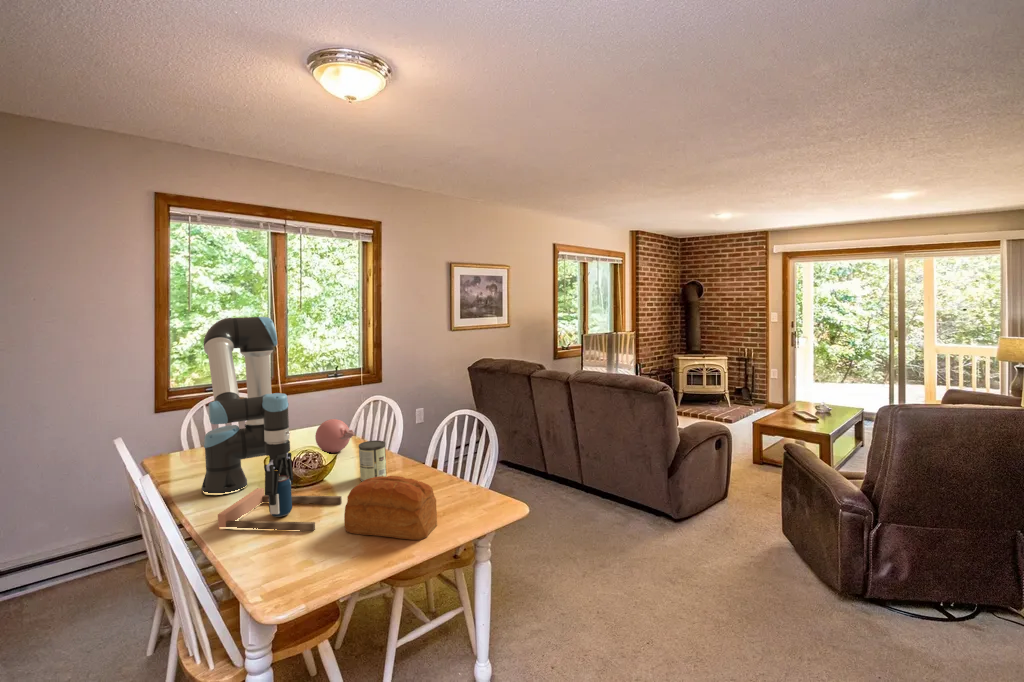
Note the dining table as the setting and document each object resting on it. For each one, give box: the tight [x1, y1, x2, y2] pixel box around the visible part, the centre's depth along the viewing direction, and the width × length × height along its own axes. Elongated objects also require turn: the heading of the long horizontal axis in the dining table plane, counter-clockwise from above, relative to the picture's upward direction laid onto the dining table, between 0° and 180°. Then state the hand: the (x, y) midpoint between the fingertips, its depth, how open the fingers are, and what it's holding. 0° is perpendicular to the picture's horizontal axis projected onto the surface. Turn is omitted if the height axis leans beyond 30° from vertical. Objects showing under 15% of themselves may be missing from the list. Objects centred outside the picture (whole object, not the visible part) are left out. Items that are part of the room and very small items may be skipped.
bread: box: [343, 475, 438, 541], centre depth 163 cm, size 16×27×16 cm, turn 76°
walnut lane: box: [226, 494, 343, 532], centre depth 174 cm, size 28×22×2 cm
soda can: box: [268, 474, 293, 518], centre depth 174 cm, size 7×7×12 cm
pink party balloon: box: [314, 418, 356, 454], centre depth 244 cm, size 15×20×15 cm
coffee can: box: [358, 440, 387, 482], centre depth 208 cm, size 10×10×14 cm
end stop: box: [217, 487, 265, 528], centre depth 175 cm, size 2×22×5 cm, turn 176°
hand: (280, 508), depth 174 cm, fingers closed on soda can, 7 cm apart
